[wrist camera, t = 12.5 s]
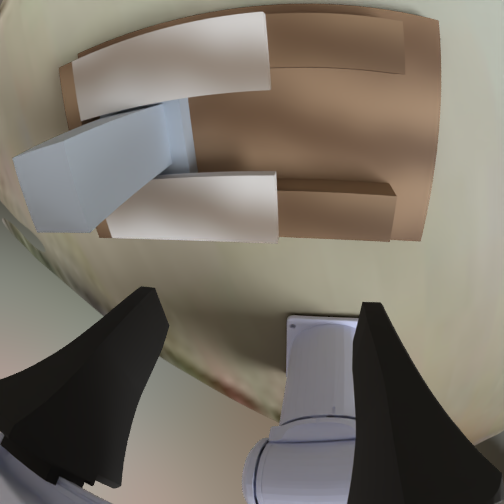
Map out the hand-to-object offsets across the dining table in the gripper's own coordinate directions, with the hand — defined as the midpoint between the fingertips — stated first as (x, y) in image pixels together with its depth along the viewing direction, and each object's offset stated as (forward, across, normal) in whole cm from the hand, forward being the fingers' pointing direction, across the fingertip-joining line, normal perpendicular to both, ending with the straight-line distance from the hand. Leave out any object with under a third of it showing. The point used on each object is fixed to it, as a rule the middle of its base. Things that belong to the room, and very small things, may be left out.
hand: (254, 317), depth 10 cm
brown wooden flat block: (+10, +2, -4) cm, 12 cm away
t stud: (+10, +8, -5) cm, 13 cm away
